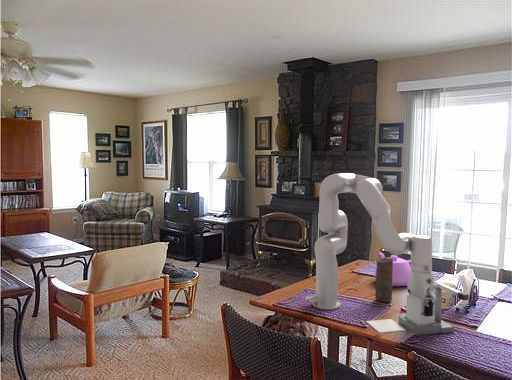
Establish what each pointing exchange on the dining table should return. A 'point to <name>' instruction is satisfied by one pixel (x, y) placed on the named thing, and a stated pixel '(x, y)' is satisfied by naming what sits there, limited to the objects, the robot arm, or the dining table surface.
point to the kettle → (399, 271)
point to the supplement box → (417, 311)
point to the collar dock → (437, 327)
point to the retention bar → (452, 291)
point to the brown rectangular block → (384, 279)
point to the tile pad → (385, 326)
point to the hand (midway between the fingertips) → (420, 311)
